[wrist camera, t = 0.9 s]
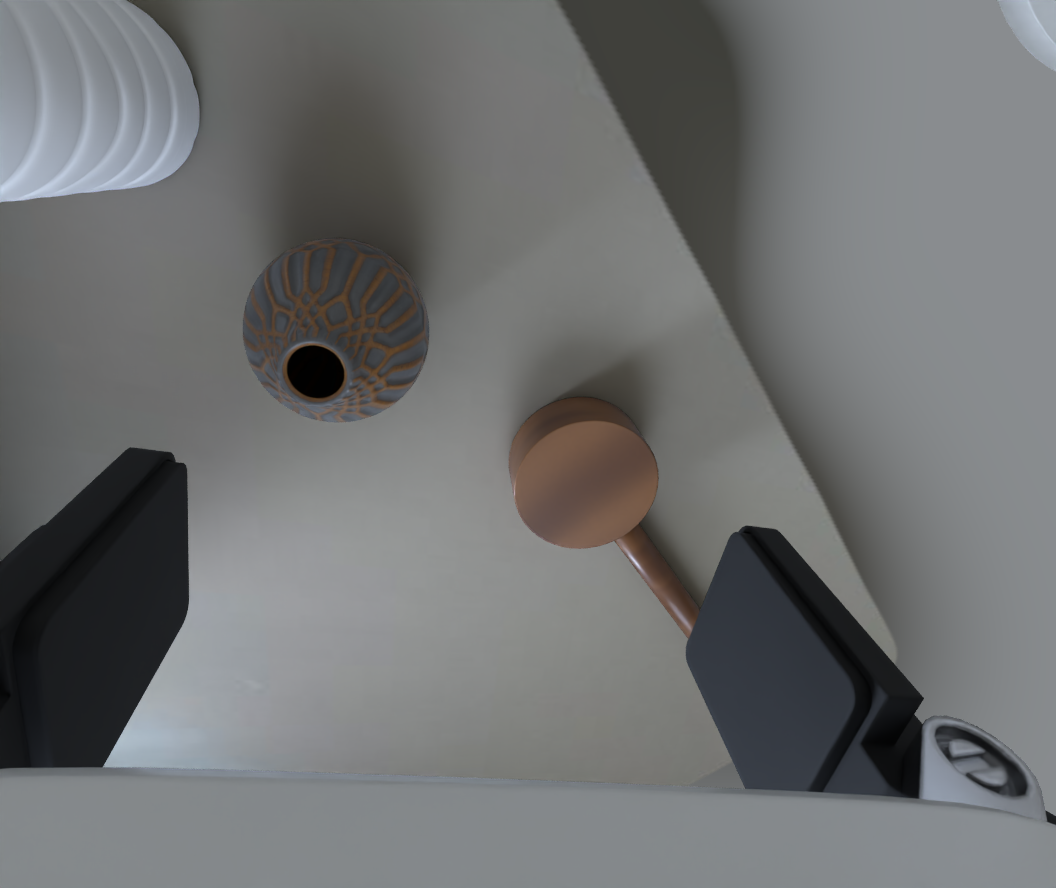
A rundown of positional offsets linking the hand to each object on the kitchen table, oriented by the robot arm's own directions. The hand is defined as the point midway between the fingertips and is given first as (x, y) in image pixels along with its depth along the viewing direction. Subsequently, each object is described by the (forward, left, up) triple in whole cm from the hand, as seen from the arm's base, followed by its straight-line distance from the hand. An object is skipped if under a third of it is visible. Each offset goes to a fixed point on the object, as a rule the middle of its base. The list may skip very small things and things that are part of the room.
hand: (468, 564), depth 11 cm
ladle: (+8, +16, -20) cm, 27 cm away
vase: (+2, -4, -20) cm, 20 cm away
